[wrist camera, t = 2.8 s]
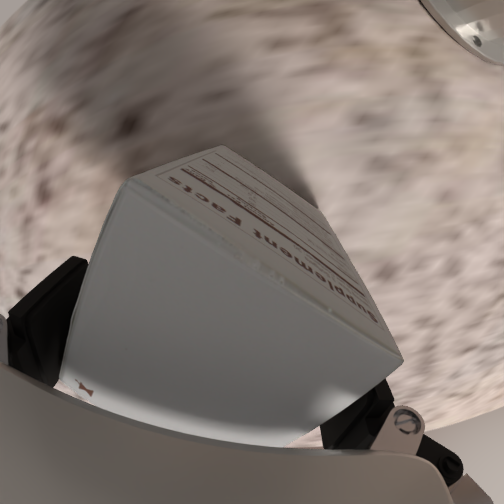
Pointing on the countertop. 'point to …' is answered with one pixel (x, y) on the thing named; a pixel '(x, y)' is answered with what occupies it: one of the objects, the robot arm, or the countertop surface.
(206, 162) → the supplement box
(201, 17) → the countertop surface
